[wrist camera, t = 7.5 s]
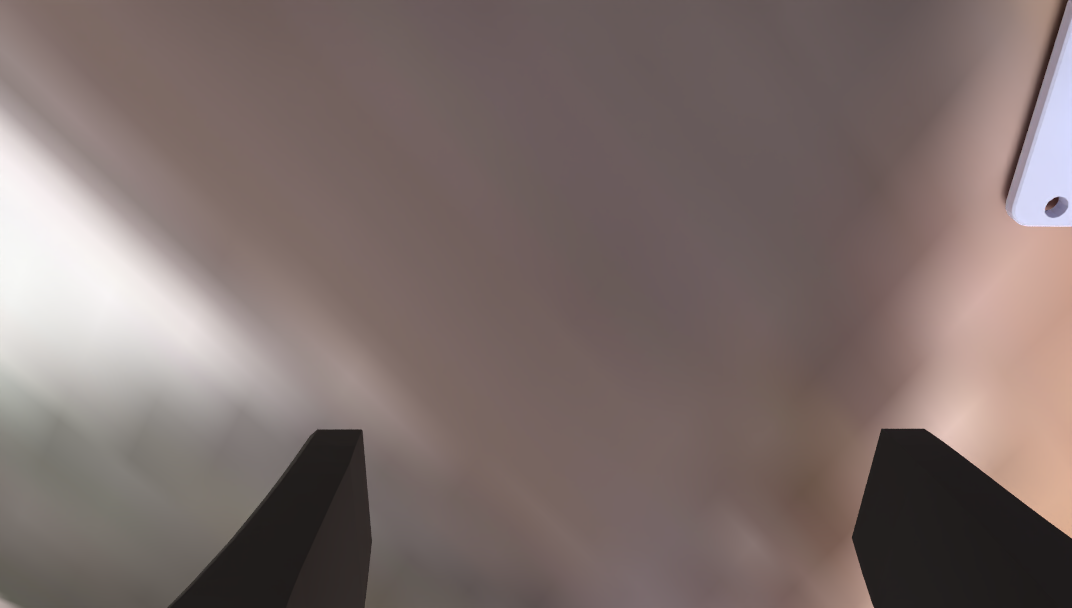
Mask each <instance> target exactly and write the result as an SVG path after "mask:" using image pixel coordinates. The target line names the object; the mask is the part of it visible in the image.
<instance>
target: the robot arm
mask: <svg viewBox="0 0 1072 608" xmlns="http://www.w3.org/2000/svg"><path fill="white" fill-rule="evenodd" d="M1055 197H1059V201H1058V202H1057V204H1056V206H1054V207H1053V208H1052V209H1050V210H1047V211H1045V207H1046V205H1047V203H1048V202H1049V201H1050V200H1052V199H1053V198H1055ZM1005 209H1006V211H1007V214H1008V215H1009V216H1010V217H1011V218H1012V219H1013V220H1015V221H1016V222H1017V223H1018V224H1020V225H1024V226H1053V227H1072V0H1068V2H1067V6H1066V9H1065V12H1064V15H1063V19H1062V22H1061V25H1060V28H1059V32H1058V35H1057V38H1056V41H1055V44H1054V48H1053V51H1052V54H1051V57H1050V61H1049V64H1048V67H1047V70H1046V74H1045V77H1044V80H1043V83H1042V87H1041V90H1040V93H1039V96H1038V100H1037V103H1036V106H1035V109H1034V112H1033V116H1032V119H1031V122H1030V125H1029V129H1028V132H1027V135H1026V138H1025V142H1024V145H1023V148H1022V151H1021V155H1020V158H1019V161H1018V164H1017V168H1016V171H1015V174H1014V177H1013V181H1012V184H1011V187H1010V190H1009V193H1008V197H1007V200H1006V208H1005ZM852 540H853V543H854V546H855V550H856V553H857V557H858V560H859V563H860V567H861V570H862V574H863V577H864V580H865V583H866V586H867V589H868V592H869V595H870V598H871V601H872V604H873V606H874V608H1072V538H1070V537H1069V536H1068V535H1066V534H1065V533H1063V532H1062V531H1061V530H1059V529H1058V528H1056V527H1055V526H1054V525H1052V524H1051V523H1050V522H1048V521H1047V520H1046V519H1044V518H1043V517H1042V516H1040V515H1039V514H1038V513H1036V512H1035V511H1034V510H1032V509H1031V508H1030V507H1028V506H1027V505H1026V504H1024V503H1023V502H1022V501H1020V500H1019V499H1018V498H1016V497H1015V496H1014V495H1012V494H1011V493H1010V492H1008V491H1007V490H1006V489H1005V488H1003V487H1002V486H1001V485H999V484H998V483H997V482H995V481H994V480H993V479H992V478H990V477H989V476H988V475H986V474H985V473H984V472H982V471H981V470H980V469H979V468H977V467H976V466H975V465H973V464H972V463H971V462H969V461H968V460H967V459H965V458H964V457H963V456H961V455H960V454H959V453H958V452H956V451H955V450H954V449H952V448H951V447H950V446H948V445H947V444H945V443H944V442H943V441H941V440H940V439H939V438H937V437H936V436H934V435H933V434H931V433H930V432H928V431H927V430H925V429H881V432H880V436H879V440H878V444H877V447H876V451H875V455H874V458H873V462H872V466H871V469H870V473H869V477H868V480H867V484H866V488H865V491H864V495H863V499H862V503H861V506H860V510H859V514H858V517H857V521H856V525H855V528H854V532H853V536H852ZM371 544H372V537H371V526H370V514H369V502H368V491H367V479H366V467H365V455H364V444H363V432H362V430H316V431H315V432H314V433H313V434H312V435H311V436H310V437H309V438H308V440H307V441H306V443H305V444H304V445H303V447H302V448H301V450H300V451H299V453H298V454H297V455H296V457H295V458H294V460H293V461H292V462H291V464H290V465H289V467H288V468H287V469H286V471H285V472H284V473H283V475H282V476H281V478H280V479H279V480H278V481H277V483H276V484H275V485H274V487H273V488H272V489H271V491H270V492H269V493H268V495H267V496H266V497H265V499H264V500H263V501H262V502H261V503H260V505H259V506H258V507H257V508H256V510H255V511H254V512H253V513H252V514H251V516H250V517H249V518H248V519H247V521H246V522H245V523H244V524H243V526H242V527H241V528H240V529H239V530H238V532H237V533H236V534H235V535H234V536H233V538H232V539H231V540H230V541H229V542H228V543H227V545H226V546H225V547H224V548H223V549H222V550H221V551H220V552H219V553H218V555H217V556H216V557H215V558H214V559H213V560H212V561H211V562H210V563H209V564H208V566H207V567H206V568H205V569H204V570H203V571H202V572H201V573H200V574H199V575H198V576H197V578H196V579H195V580H194V581H193V582H192V583H191V584H190V585H189V586H188V587H187V588H186V589H185V590H184V591H183V592H182V593H181V594H180V595H179V596H178V597H177V598H176V600H175V601H174V602H173V603H172V604H171V605H170V606H169V607H168V608H364V607H365V598H366V590H367V581H368V572H369V563H370V554H371Z"/></svg>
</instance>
